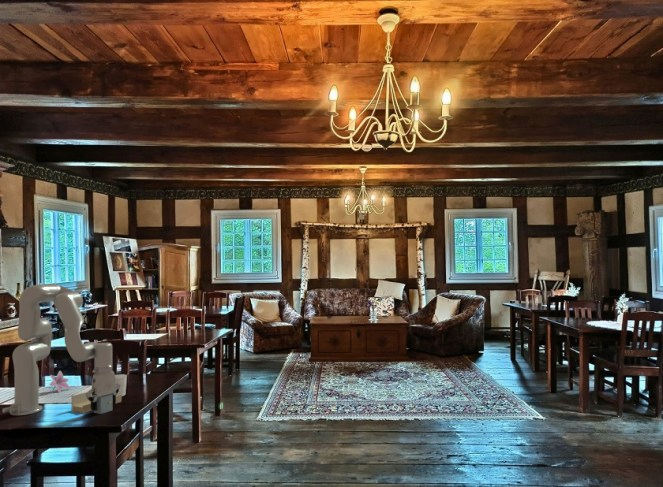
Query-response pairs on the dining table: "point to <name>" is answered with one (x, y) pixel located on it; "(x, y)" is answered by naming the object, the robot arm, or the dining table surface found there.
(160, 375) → the dining table surface
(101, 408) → the cabinet
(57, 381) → the lily
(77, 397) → the cleat board
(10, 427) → the dining table surface
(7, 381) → the dining table surface
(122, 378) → the white cup
